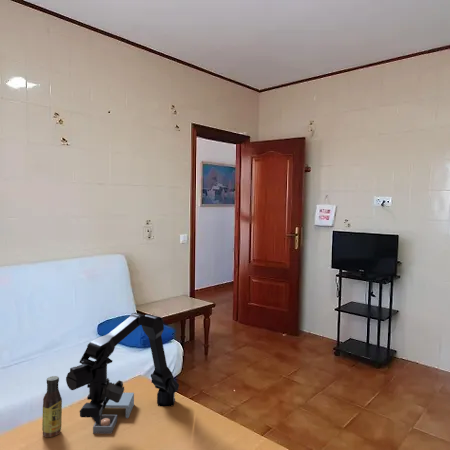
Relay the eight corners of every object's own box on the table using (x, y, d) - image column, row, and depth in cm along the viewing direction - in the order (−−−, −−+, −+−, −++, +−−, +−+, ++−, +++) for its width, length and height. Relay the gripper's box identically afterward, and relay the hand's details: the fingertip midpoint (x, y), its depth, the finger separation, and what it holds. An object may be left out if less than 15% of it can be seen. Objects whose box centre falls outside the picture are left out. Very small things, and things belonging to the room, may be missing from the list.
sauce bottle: (54, 439, 134) (54, 383, 133) (38, 437, 135) (38, 381, 134) (65, 428, 140) (65, 375, 139) (50, 426, 142) (50, 373, 140)
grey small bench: (133, 405, 157) (134, 392, 157) (128, 419, 147) (128, 405, 147) (99, 405, 157) (99, 392, 157) (91, 419, 147) (91, 405, 147)
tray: (117, 422, 145) (117, 414, 145) (111, 435, 137) (111, 426, 137) (99, 422, 145) (99, 414, 145) (92, 434, 137) (93, 426, 137)
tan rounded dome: (111, 424, 143) (111, 418, 143) (108, 429, 140) (108, 423, 139) (102, 424, 143) (102, 418, 142) (99, 429, 139) (99, 423, 139)
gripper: (114, 392, 122) (114, 440, 123) (128, 367, 140) (128, 408, 141) (79, 391, 122) (79, 439, 122) (97, 366, 140) (97, 408, 141)
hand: (98, 423), depth 132 cm, fingers closed
